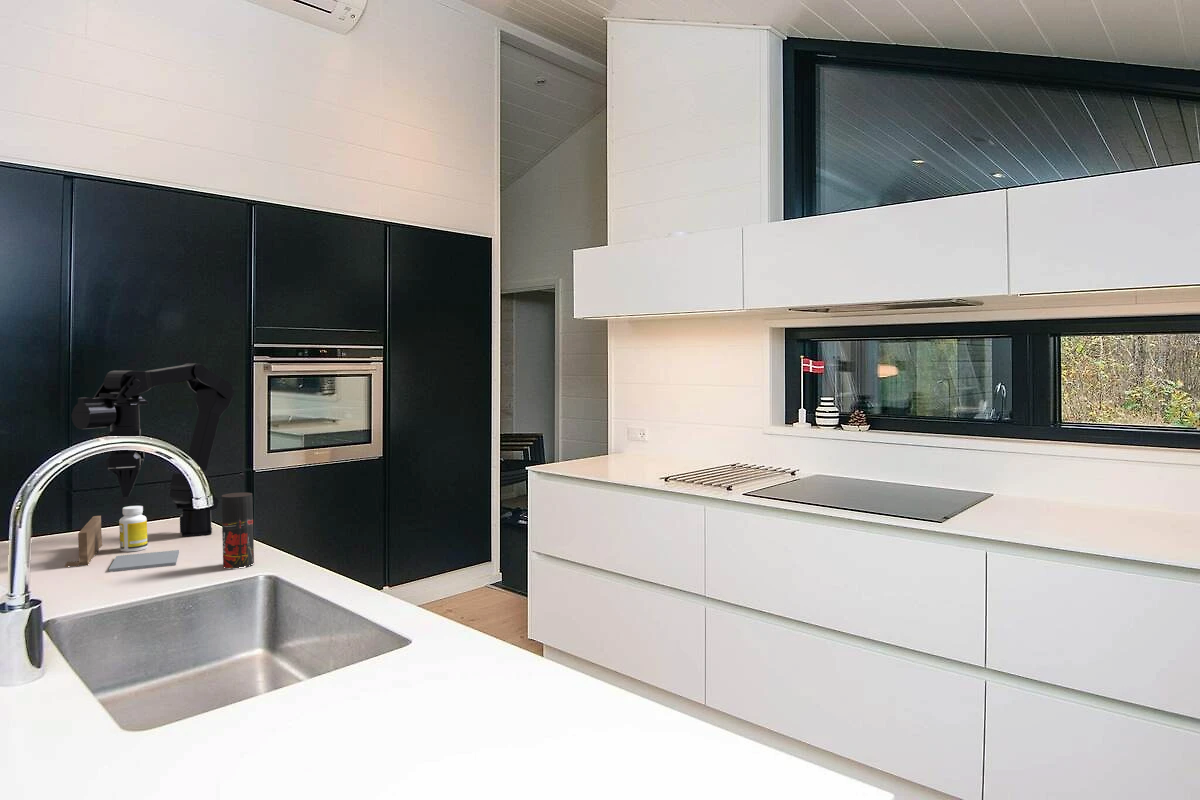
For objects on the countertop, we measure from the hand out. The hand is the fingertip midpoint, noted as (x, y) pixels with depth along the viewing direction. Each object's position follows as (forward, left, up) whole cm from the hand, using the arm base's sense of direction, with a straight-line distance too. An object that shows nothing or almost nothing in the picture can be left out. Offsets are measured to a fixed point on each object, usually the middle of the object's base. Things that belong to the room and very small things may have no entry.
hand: (127, 494), depth 174 cm
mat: (-4, +13, -13) cm, 19 cm away
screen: (+8, +1, -13) cm, 15 cm away
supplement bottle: (-1, -1, -13) cm, 13 cm away
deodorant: (-22, +25, -13) cm, 36 cm away
